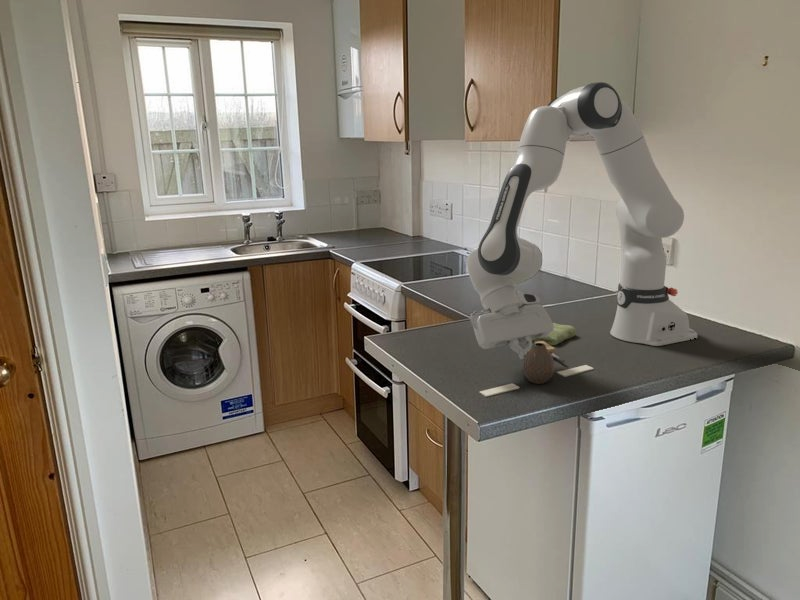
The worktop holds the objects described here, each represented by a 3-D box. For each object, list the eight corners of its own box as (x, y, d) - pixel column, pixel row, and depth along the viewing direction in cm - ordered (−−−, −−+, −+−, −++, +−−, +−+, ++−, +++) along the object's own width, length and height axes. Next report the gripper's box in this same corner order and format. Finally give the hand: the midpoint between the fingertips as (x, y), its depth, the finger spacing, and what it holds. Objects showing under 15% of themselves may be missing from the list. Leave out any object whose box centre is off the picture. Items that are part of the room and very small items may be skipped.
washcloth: (523, 324, 181) (524, 314, 180) (578, 337, 169) (579, 325, 168) (498, 335, 172) (498, 324, 171) (553, 349, 160) (554, 337, 159)
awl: (534, 350, 158) (534, 342, 158) (542, 349, 159) (542, 341, 158) (558, 366, 147) (559, 357, 146) (567, 365, 148) (568, 356, 147)
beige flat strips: (585, 366, 147) (586, 364, 147) (593, 369, 144) (593, 368, 144) (479, 392, 133) (479, 391, 133) (485, 397, 131) (485, 395, 131)
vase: (533, 372, 143) (535, 337, 141) (559, 380, 139) (561, 344, 136) (516, 380, 139) (517, 344, 136) (542, 389, 134) (544, 352, 132)
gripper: (472, 306, 140) (496, 359, 134) (542, 294, 149) (568, 343, 143) (461, 319, 145) (484, 371, 139) (530, 307, 154) (554, 355, 148)
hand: (527, 357), depth 141 cm, fingers closed, pressing on vase
